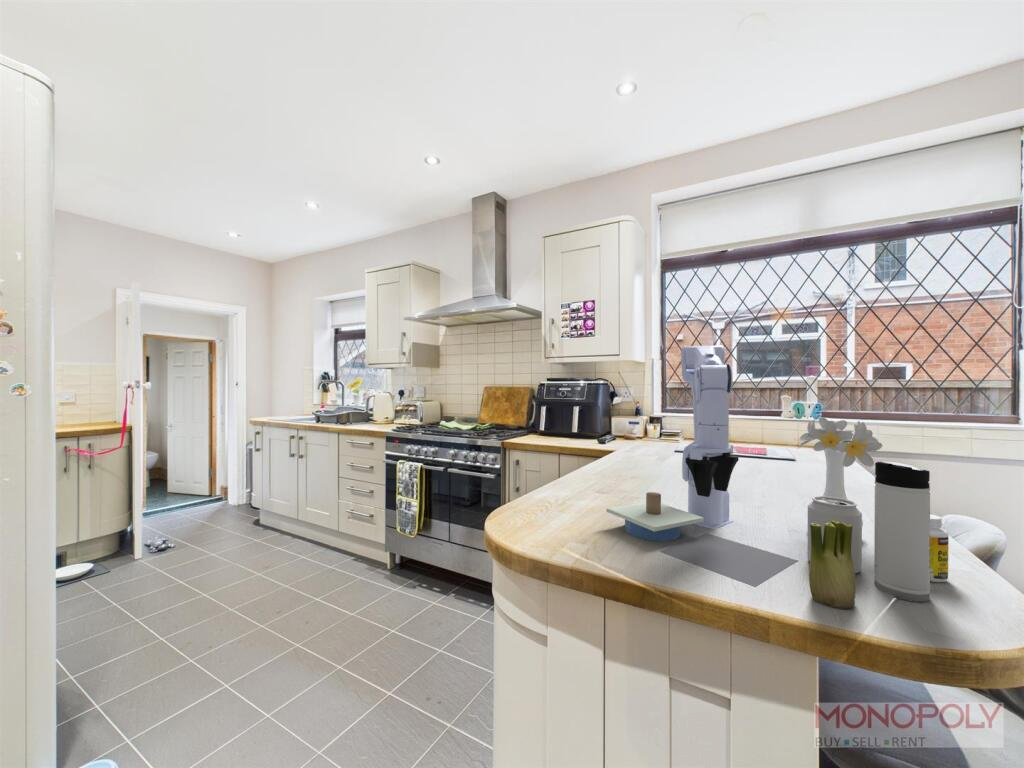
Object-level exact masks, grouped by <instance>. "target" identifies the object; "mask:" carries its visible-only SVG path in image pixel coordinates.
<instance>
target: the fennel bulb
mask: <svg viewBox="0 0 1024 768" xmlns="http://www.w3.org/2000/svg"><path fill="white" fill-rule="evenodd" d="M831 523H832V524H831ZM831 523H825V526H824V535H823V544H822V534H821V525H819V524H816V523H811V524H810V529H811V558H810V561H809V568H808V569H809V570H808V582H809V583H808V584H809V589H810V593H811V596H812V598H813V600H814V601H815V602H817V603H819V604H822V605H825V606H828V607H831V608H834V609H839V610H850V609H852V608H853V607H854V606H855V605H856V601H855V599H856V592H857V591H856V587H857V586H856V574H855V571H854V566H853V561H852V556H851V539H852V528H853V526H852V525H849V524H847V523H841V524H840V522H838V521H831Z"/></svg>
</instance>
